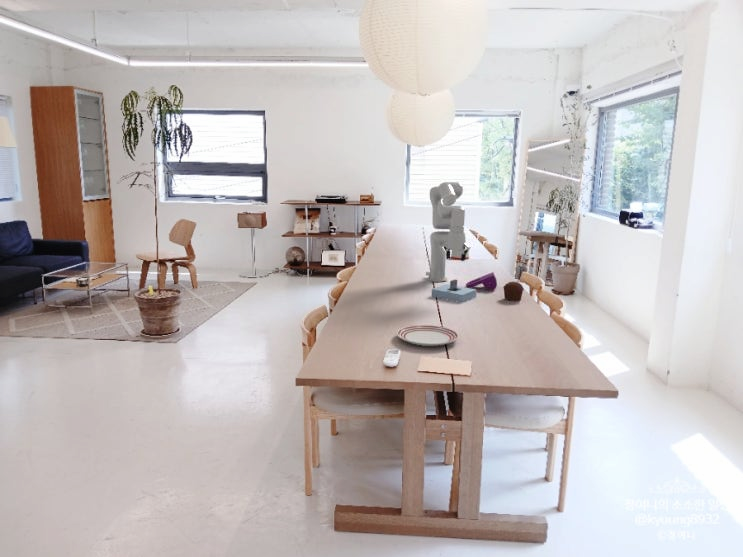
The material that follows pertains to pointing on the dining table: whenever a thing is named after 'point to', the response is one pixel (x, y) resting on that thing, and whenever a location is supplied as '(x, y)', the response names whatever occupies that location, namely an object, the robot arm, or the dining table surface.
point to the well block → (454, 293)
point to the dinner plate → (427, 335)
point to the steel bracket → (453, 285)
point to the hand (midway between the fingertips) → (455, 259)
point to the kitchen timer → (459, 254)
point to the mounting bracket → (484, 282)
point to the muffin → (513, 291)
